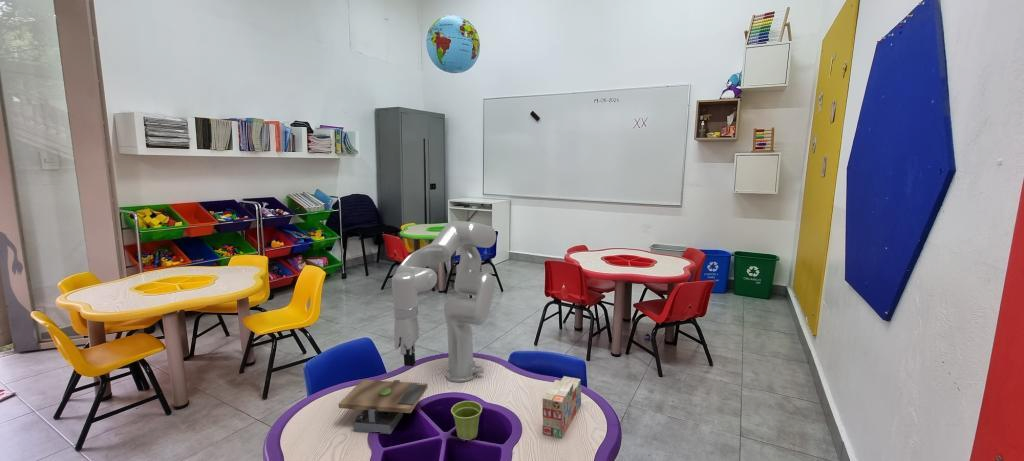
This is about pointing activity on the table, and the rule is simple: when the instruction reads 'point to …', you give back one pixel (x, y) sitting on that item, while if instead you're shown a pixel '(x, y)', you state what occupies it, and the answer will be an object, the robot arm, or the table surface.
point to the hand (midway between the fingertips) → (409, 364)
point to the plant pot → (466, 418)
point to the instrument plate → (384, 396)
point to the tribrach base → (377, 421)
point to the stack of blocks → (561, 406)
